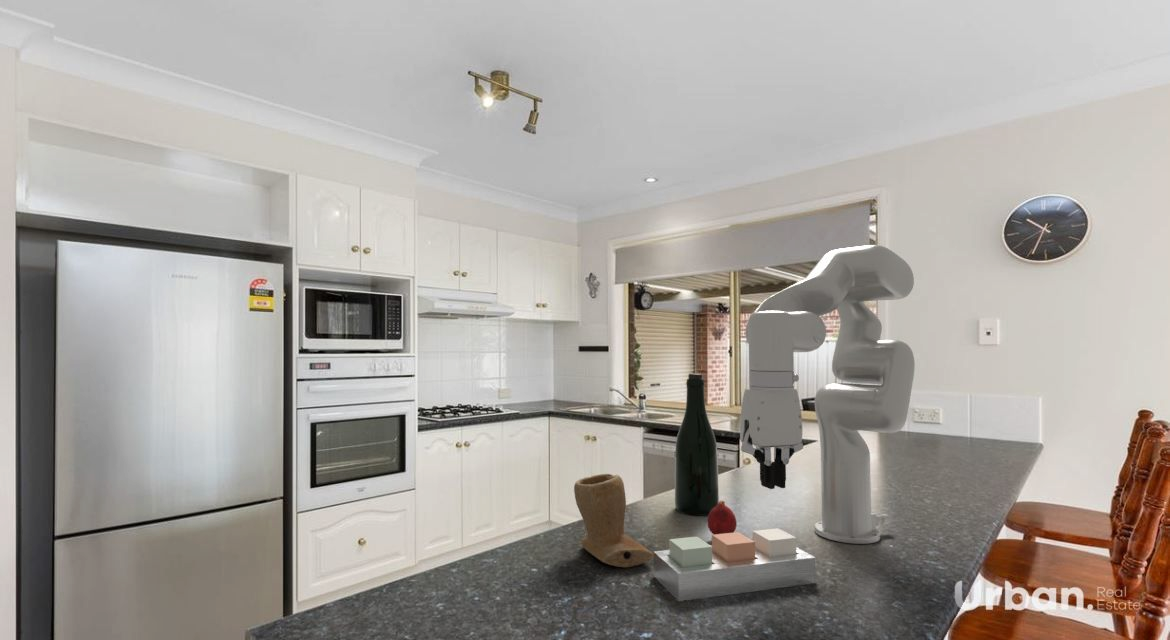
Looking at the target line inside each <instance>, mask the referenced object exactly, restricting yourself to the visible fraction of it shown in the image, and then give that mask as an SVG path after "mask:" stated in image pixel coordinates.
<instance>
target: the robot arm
mask: <svg viewBox="0 0 1170 640" xmlns="http://www.w3.org/2000/svg"><path fill="white" fill-rule="evenodd" d="M914 278H915V277H914V273H913V271H912V268H911V266H910V265H909V263H908V262H907V261H906V260H905V259H903V258H902V257H900V256H899V255H898V254H897V253H895V252H894V251H892V250H891V249H889V248H888V247H885V246H882V245H878V244H869V245H861V246H859V245H858V246H853V247H845V248H838V249H833V250H830V251H829V252H827V253H825V254H824V255H823V256H822V257H821V258H820V259H819V261H817V263H816V264H815V265H814V267H813V268H812V269H811V271H810V272H809V273H808V274H807V275H806V277H805V278H804V279H803V280H801V281H798V282H796V283H794V284H793V285H790V286H788V287H786V288H784V289H782V290H780V291H779V292H776V293H774V294H772V295H771V296H769V297H767V298H765V299H764V300H763V301H762V302H761V303H760V304H759V305H758V306H757V307H756V308H755V310H754V311H753V312H752V313H751V314H750V316H749V317H748V320H747V323H746V326H745V333H744V334H745V338H746V339H745V340H746V342H747V344H748V384H749V387H748V388H744V392H743V397H742V402H741V409H740V421H739V423H740V424H739V427H740V428H739V436H740V437H739V438H740V441H741V442H742V444H741V447H740V450H741V452H742V453H746V454H748V455H750V456H751V455H752V457H753V458H754V459H755V460H756V462H757V463H758V464H759V480H760V484H761V486H762V487H764V488H767V489H769V490H773V489H775V487H776V488H777V487H778V488H780V489H786V481H787V466H786V465H789V463H790V460H791V457H792V456H793V455H794V454H795V453H797V452H798V453H799V452H800V451H802V450H803V449H804V444H803V442H802V440H803V416H802V410H801V409H802V407H801V403H800V397H799V393H798V390H797V388H795V382H798V381H799V379H800V378H799V375H798V374H796V373H795V371H794V370H795V367H794V365H795V362H794V358H795V357H794V353H809V352H813V351H815V350H816V351H817V350H818V349H819V348H820V347H821V346H822V345H823V344H824V342H825V340H826V338H827V328H826V324H825V322H824V320H823V319H822V318H821V316H823V315H827V314H829V313H832V312H833V311H835V310H836V311H837V313H838V318H839V323H840V325H839V330H838V335H837V339H836V343H835V347H834V351H833V357H832V362H831V372H832V373H833V376H834V377H835V378H836V379H837V380H839V381H841V382H842V383H841V382H840V383H839V382H838V383H836V382H835V383H828V384H825V385H823V386H822V387H820V388H819V389H818V391H817V392H816V393H815V396H814V410H815V414H816V421H817V426H818V431H819V442H820V443H819V444H820V445H819V446H820V482H821V484H820V486H821V487H820V488H821V494H820V496H821V520H820V521H817V522H816V523H814V524H813V527H814V528H813V529H814V532H815V533H816V535H819V536H821V537H822V538H825V539H828V540H831V541H834V542H835V541H836V542H839V543H845V544H852V545H854V544H856V545H859V544H860V545H865V544H867V545H870V544H875V543H877V542H879V541H880V540H881V532H880V530H878V528H877V526H879V525H885V524H886V525H887V524H890V523H891V516H890V515H889V514H887V513H884V514H883V513H882V514H876V513H875V512H872V482H871V453H870V449H869V446H868V443H866V441H865V440H864V438H863V437H862V435H861V434H860V432H859V431H863V432H874V433H884V434H885V433H887V434H894V433H897V432H899V431H901V430H902V429H903V428H904V427H905V424H906V421H907V417H908V413H909V407H910V401H911V394H912V389H913V384H914V382H913V381H914V378H915V366H916V365H915V356H914V352H913V350H912V348H911V347H910V346H909V344H907V343H906V342H904V341H901V340H899V339H898V340H896V339H881V335H882V331H883V330H882V329H883V326H882V322H881V320H880V319H879V318H878V316H877V315H876V314H875V312H874V311H872V310H871V309H870V308H869V307H868V306H867V305H866V304H865V303H864V302H873V301H874V302H875V301H877V302H878V301H893V300H901V299H905V298H906V297H908V296H909V295H910V294H911V292H912V290H913V289H914V285H915V284H914V283H915V280H914ZM771 448H773V460H774V461H772V449H771Z"/></svg>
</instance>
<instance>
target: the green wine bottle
mask: <svg viewBox="0 0 1170 640" xmlns="http://www.w3.org/2000/svg"><path fill="white" fill-rule="evenodd" d="M687 377H688V378H687V379H686V383H685V385H686V402H685V403H686V405H685V411H684V415H683V418H682V422H681V424H680V427H679V430H678V433H677V435H676V439H675V452H674V506H675V509H676V510H677V511H679V512H680V513H682V514H685V515H691V516H708V515H709V513H710V511H711V510H712V509H713V508H714V507H716V506H717V505H718V504H719V501H720V495H719V490H720V489H719V464H718V463H719V462H718V461H719V460H718V459H719V458H718V447H717V446H718V445H717V440H716V436H715V433H714V431H713V428H712V425H711V423H710V420H709V417H708V413H707V409H706V402H705V401H706V399H705V385H706V383H705V379H704V378H703V374H702V373H688V376H687Z"/></svg>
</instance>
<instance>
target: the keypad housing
mask: <svg viewBox="0 0 1170 640" xmlns="http://www.w3.org/2000/svg"><path fill="white" fill-rule="evenodd" d="M709 545H710V544H709ZM710 546H712V544H711V545H710ZM652 553H653V555H654V557H653V577H654V579H656V580H657V581H658V582H659V584H660V585H662V586H663V587H664V588H665V589H666V590H667V591H668V592H669V593H670V594H671V595H672V596H673V598H675V599H676V601H678V602H684V600H686V601H692V599H693V600H700V599H706V598H707V599H708V598H714V597H723V596H729V595H738V594H744V593H752V592H753V593H754V592H759V591H766V590H774V589H780V588H781V589H783V588H788V587H789V588H790V587H798V586H804V585H805V586H806V585H813V584H816V583H817V573H816V572H817V571H816V570H817V569H816V557H815V556H813V555H812V554H810V553H808V552H806V551H804V550H803V549H801V548H799V547H797V546H796V553H797V555H788V556H780V557H771V558H769V557H767V556H766V555H764V554H762V553H761V552H759V551H757V550H756V549H755V559H754V560H746V561H737V562H729V563H726V562H725V561H723V560H722V559H721V558H719V557H718V556H716V555H715V554H714V553H712V564H711V565H703V566H694V567H686V568H681V567H680V566H679V565H678V564H677V563H675V562H674V561H673V560H672V559H671V558H670V557H669V549H665V550H657V551H656V550H653V552H652Z"/></svg>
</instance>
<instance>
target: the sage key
mask: <svg viewBox="0 0 1170 640" xmlns="http://www.w3.org/2000/svg"><path fill="white" fill-rule="evenodd" d="M668 544H669V546H668V548H669V549H668V550H669V557H670V558H671V559H672V560H673V561H674V562H675V563H677V564H678V565H679V566H680V567H681V568H686V567H694V566H703V565H711V564H712V546H710V544H709V543H707V542H705V541H704V540H703V539H701V538H700V537H698V536H689V537H679V538H671V539H669V541H668Z"/></svg>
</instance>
